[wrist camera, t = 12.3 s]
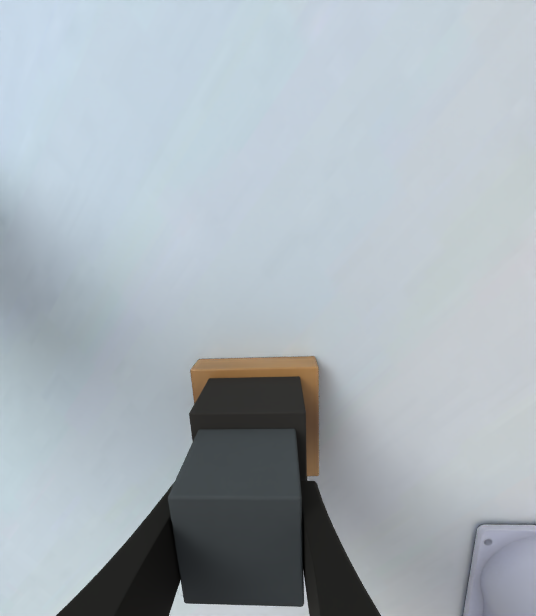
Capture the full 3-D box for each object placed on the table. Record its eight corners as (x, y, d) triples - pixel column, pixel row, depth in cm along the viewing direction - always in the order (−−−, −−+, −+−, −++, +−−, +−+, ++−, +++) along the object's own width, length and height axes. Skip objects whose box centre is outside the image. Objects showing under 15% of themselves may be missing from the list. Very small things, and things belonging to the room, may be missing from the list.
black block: (302, 469, 15) (307, 526, 12) (218, 469, 15) (202, 525, 12) (300, 375, 14) (306, 411, 11) (208, 377, 14) (188, 413, 11)
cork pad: (315, 457, 17) (319, 476, 15) (209, 457, 17) (202, 476, 16) (315, 355, 15) (318, 367, 14) (198, 358, 16) (189, 369, 14)
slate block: (297, 514, 12) (304, 608, 9) (208, 513, 12) (183, 605, 9) (295, 427, 11) (301, 497, 8) (198, 428, 11) (166, 497, 8)
